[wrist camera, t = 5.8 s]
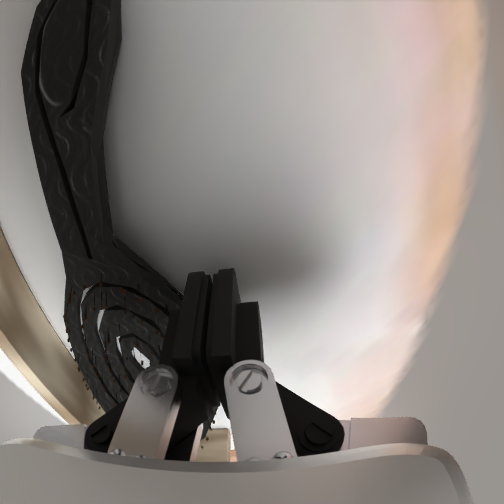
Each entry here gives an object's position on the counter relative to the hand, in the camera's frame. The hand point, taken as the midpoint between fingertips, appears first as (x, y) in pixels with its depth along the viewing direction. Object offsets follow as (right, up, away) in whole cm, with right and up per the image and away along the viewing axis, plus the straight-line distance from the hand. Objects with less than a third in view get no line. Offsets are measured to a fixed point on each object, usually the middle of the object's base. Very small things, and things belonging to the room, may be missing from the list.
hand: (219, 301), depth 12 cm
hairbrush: (-4, +1, +1) cm, 5 cm away
